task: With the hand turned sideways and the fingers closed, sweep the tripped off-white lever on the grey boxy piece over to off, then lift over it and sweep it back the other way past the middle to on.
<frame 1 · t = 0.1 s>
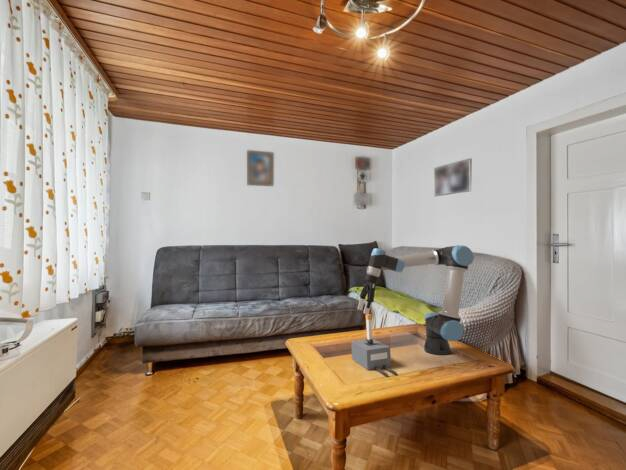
hand: (362, 311, 159), 28 cm above the table, tool tilted 20°, fingers open, 13 cm apart
grey boxy piece: (370, 362, 157), on the table
breaker lever: (369, 328, 159), point 18 cm above the table, hinge at 0.0°
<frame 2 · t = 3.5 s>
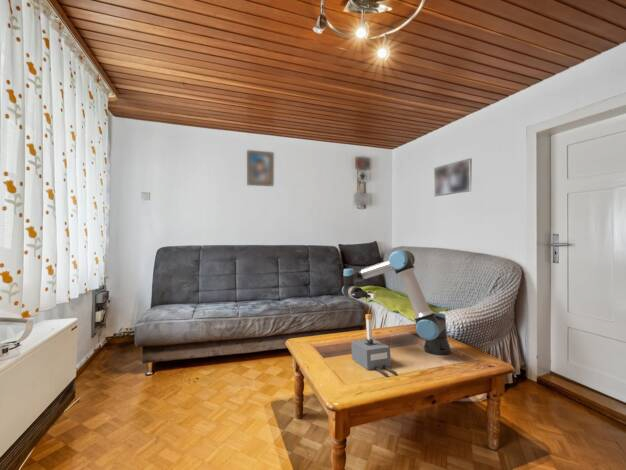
hand: (374, 296, 167), 35 cm above the table, tool horizontal, fingers closed
nothing on the table moved.
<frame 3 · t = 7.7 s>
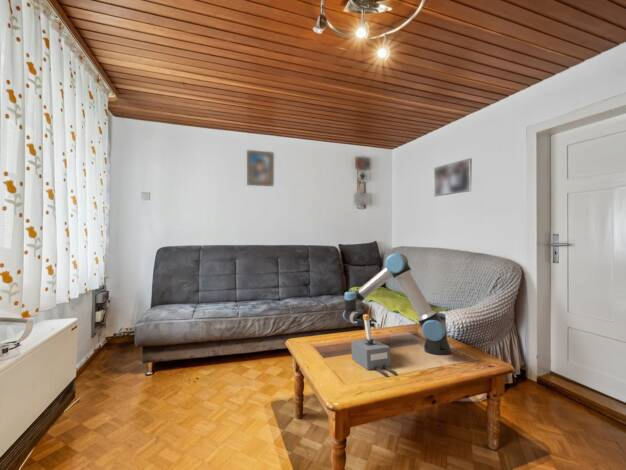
hand: (378, 326, 155), 20 cm above the table, tool horizontal, fingers closed
breaker lever: (367, 328, 158), point 18 cm above the table, hinge at 6.9°, touching gripper
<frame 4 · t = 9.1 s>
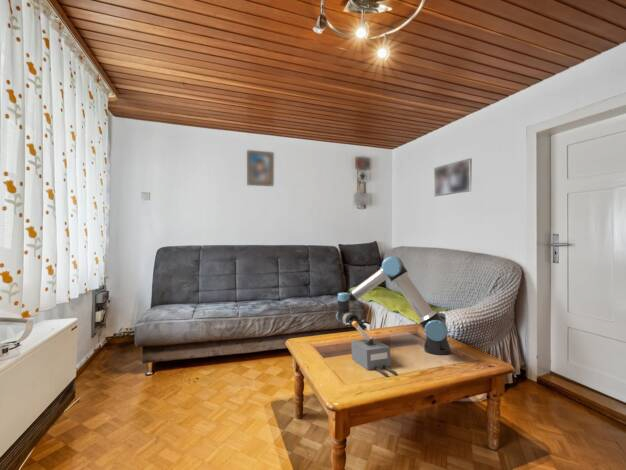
hand: (370, 328, 153), 20 cm above the table, tool horizontal, fingers closed
breaker lever: (362, 332, 157), point 17 cm above the table, hinge at 41.0°, touching gripper
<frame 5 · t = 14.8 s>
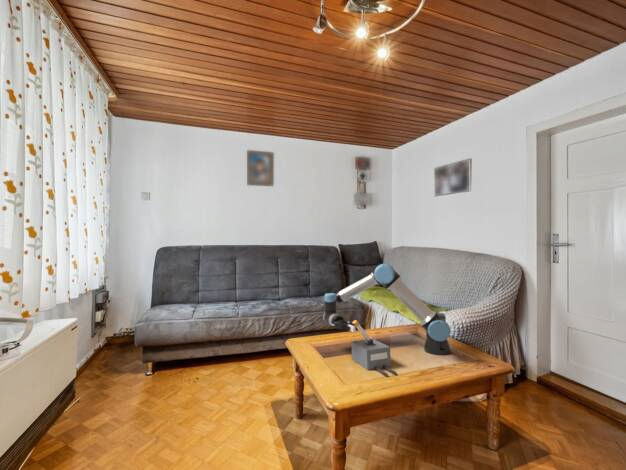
hand: (354, 329, 150), 20 cm above the table, tool horizontal, fingers closed
breaker lever: (362, 332, 157), point 17 cm above the table, hinge at 38.5°, touching gripper
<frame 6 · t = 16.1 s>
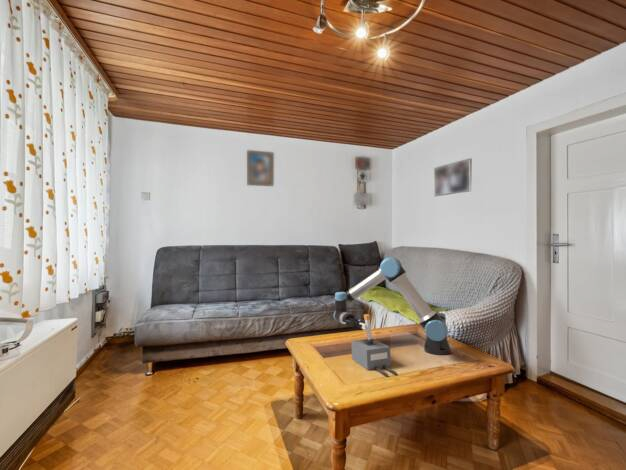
hand: (365, 327, 153), 20 cm above the table, tool horizontal, fingers closed
breaker lever: (368, 328, 158), point 18 cm above the table, hinge at 4.3°, touching gripper
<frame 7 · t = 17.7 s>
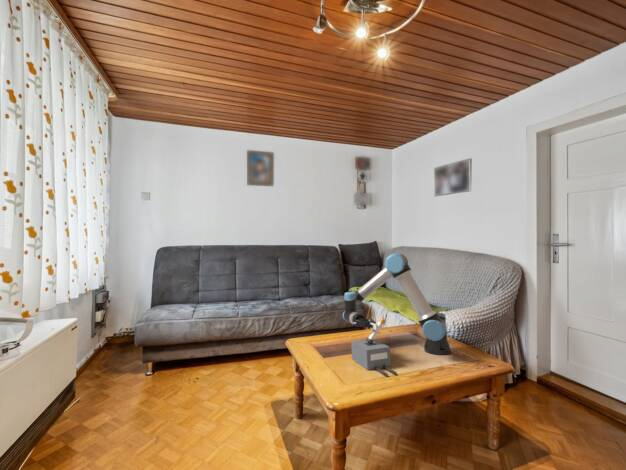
hand: (377, 327, 154), 20 cm above the table, tool horizontal, fingers closed
breaker lever: (375, 330, 160), point 17 cm above the table, hinge at -40.7°, touching gripper
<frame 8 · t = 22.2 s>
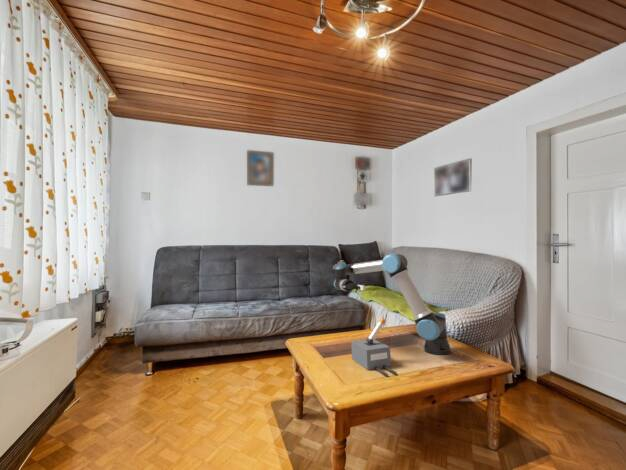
hand: (364, 288, 169), 40 cm above the table, tool horizontal, fingers closed
breaker lever: (376, 330, 160), point 17 cm above the table, hinge at -41.1°
at the end: breaker lever at -41° (first picture: +0°); the gripper is holding nothing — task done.
